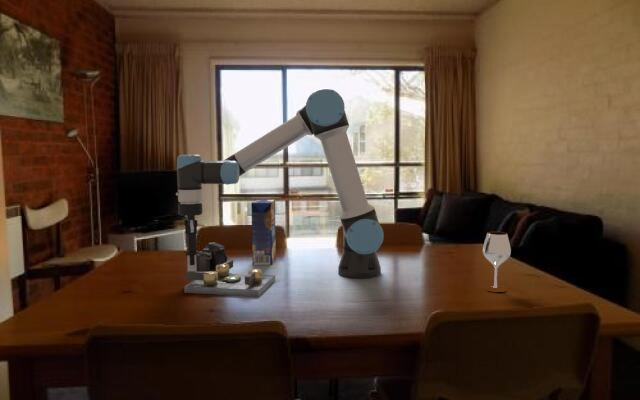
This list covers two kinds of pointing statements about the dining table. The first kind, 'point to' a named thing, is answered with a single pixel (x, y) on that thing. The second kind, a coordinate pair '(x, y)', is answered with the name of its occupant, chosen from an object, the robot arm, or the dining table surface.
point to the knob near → (203, 276)
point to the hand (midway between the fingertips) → (192, 273)
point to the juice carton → (263, 232)
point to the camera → (210, 257)
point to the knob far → (224, 268)
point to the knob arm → (253, 276)
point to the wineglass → (496, 250)
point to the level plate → (231, 285)
